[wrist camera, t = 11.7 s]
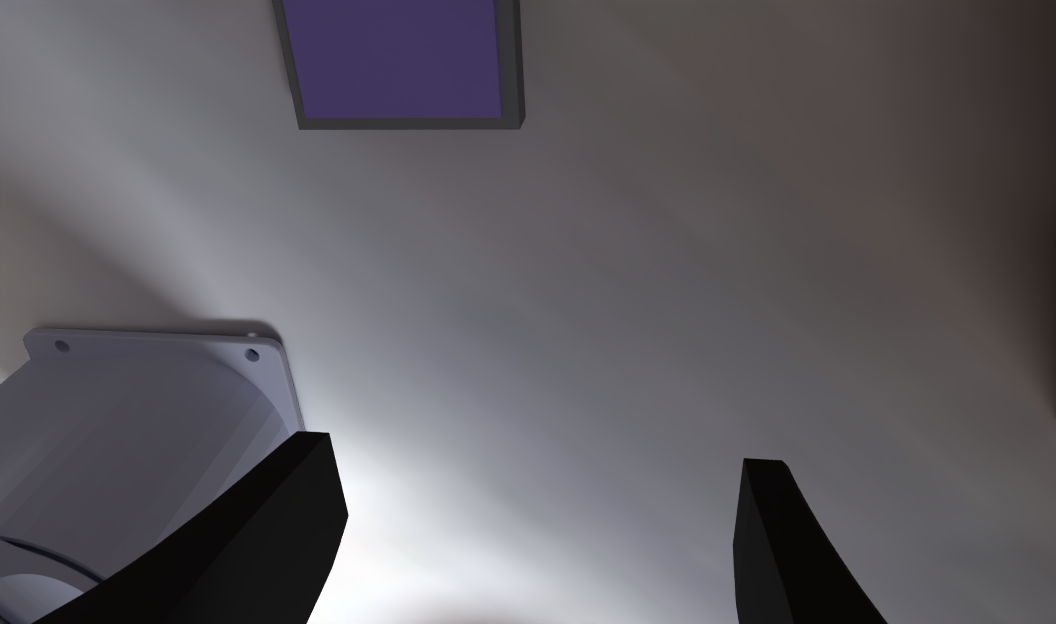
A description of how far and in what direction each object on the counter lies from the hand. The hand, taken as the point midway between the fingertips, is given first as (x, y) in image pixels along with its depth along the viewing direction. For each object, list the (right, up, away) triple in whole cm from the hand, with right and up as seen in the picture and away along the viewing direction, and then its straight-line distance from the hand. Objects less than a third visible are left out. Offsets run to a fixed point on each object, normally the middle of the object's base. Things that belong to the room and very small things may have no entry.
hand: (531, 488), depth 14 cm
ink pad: (-3, +10, +7) cm, 13 cm away
